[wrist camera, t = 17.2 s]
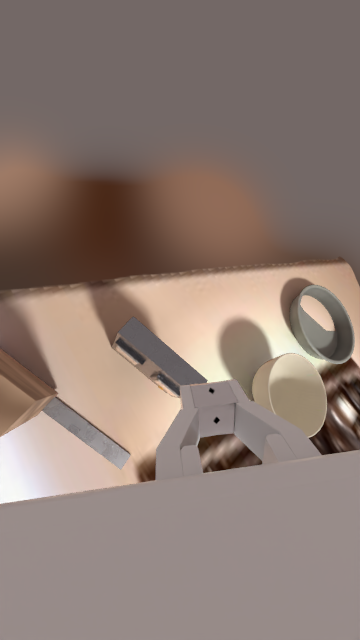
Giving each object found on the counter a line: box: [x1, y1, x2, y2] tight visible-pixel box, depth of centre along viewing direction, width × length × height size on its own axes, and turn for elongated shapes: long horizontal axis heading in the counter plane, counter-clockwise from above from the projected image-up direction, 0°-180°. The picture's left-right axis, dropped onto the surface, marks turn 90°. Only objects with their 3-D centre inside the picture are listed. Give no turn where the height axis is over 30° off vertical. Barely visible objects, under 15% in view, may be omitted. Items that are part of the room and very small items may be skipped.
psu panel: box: [42, 316, 208, 469], centre depth 29 cm, size 17×27×14 cm, turn 53°
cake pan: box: [290, 285, 355, 364], centre depth 61 cm, size 25×25×4 cm
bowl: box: [252, 353, 327, 437], centre depth 44 cm, size 16×16×10 cm
